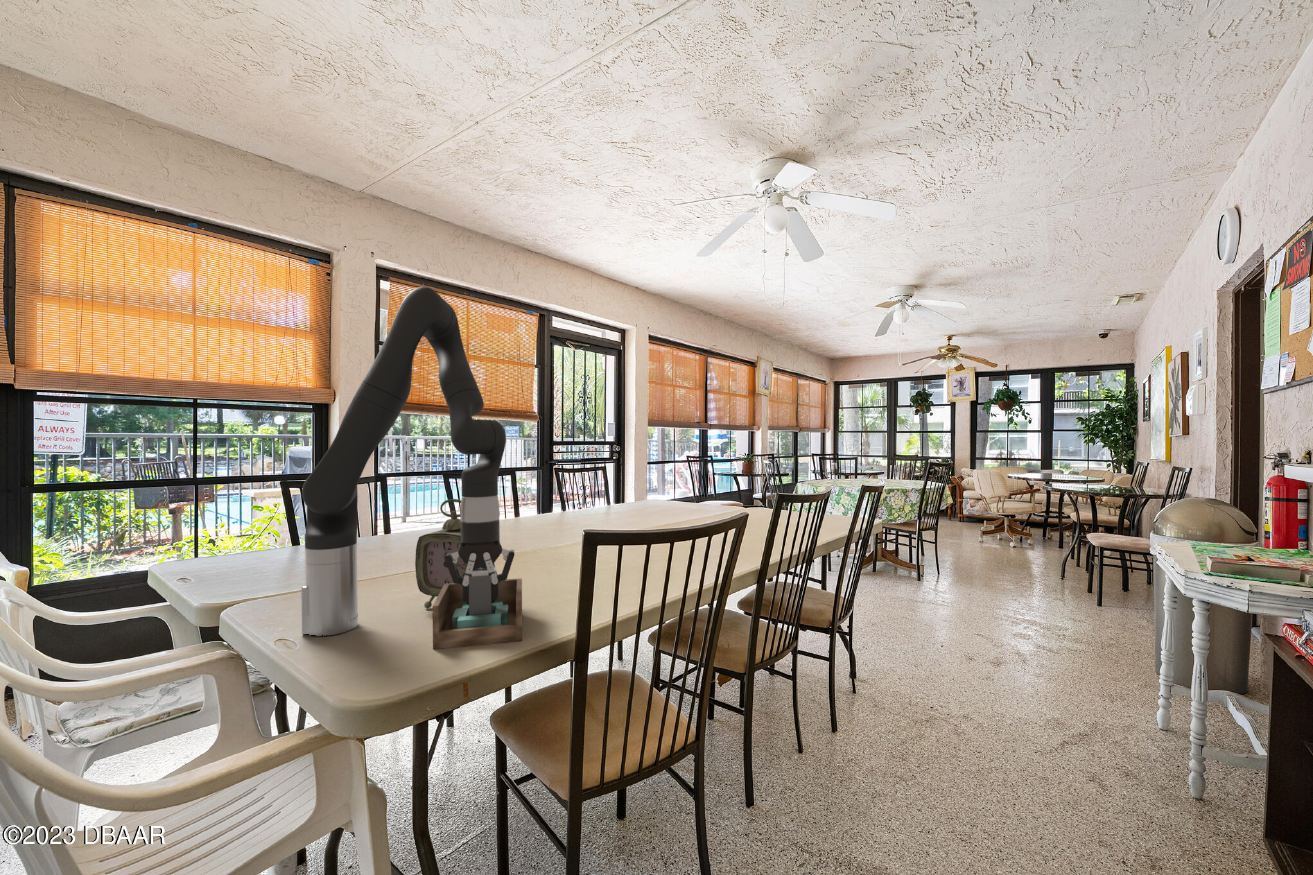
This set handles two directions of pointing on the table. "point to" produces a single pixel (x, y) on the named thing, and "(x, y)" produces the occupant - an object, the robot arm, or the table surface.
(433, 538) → the tabletop clock
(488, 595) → the block
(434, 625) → the walled box
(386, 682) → the table surface
